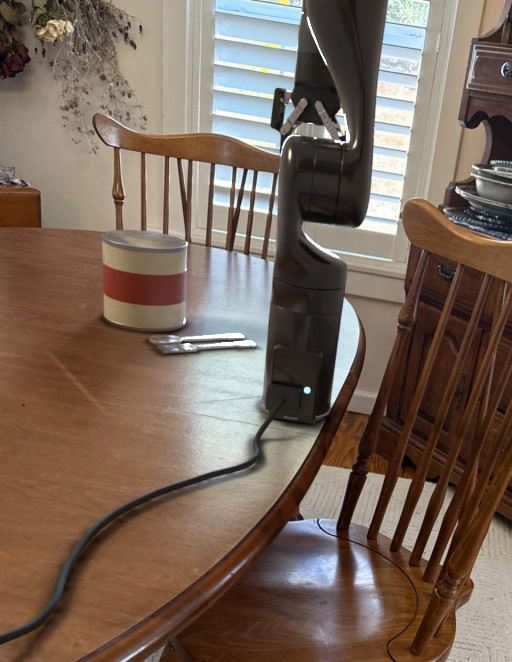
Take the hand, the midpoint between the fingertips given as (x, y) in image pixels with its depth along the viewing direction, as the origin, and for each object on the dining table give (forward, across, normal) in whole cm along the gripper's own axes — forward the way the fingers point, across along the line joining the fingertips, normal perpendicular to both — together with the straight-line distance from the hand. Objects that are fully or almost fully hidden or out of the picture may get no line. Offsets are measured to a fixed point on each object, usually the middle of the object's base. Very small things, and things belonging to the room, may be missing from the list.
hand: (309, 165), depth 128 cm
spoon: (+26, -7, -22) cm, 35 cm away
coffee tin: (+26, -19, -19) cm, 38 cm away
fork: (+26, -4, -25) cm, 36 cm away
